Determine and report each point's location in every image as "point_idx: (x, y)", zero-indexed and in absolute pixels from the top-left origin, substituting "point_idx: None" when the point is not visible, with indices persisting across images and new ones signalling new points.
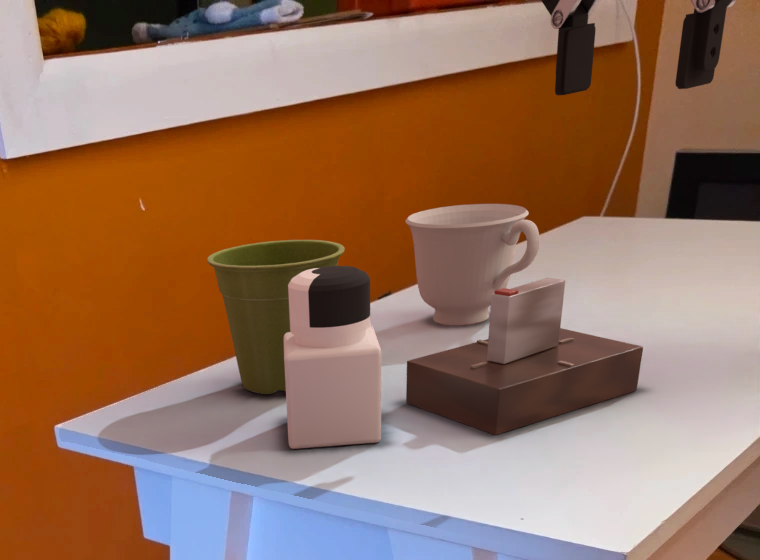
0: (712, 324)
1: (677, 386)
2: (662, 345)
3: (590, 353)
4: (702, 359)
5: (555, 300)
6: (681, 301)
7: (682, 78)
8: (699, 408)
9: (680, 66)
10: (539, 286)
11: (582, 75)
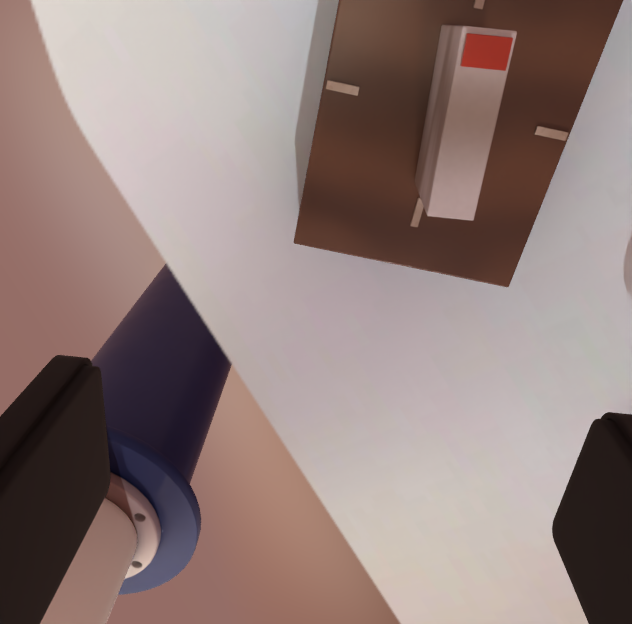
0: (368, 503)
1: (265, 265)
2: (378, 409)
3: (343, 169)
4: (302, 378)
5: (427, 181)
6: (453, 571)
7: (54, 364)
8: (190, 196)
9: (51, 388)
10: (448, 143)
11: (581, 526)
